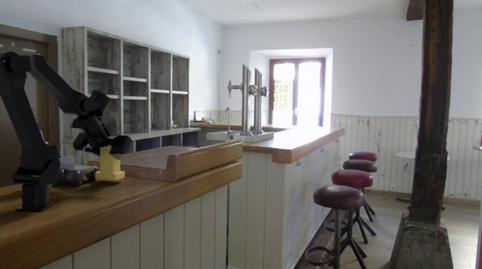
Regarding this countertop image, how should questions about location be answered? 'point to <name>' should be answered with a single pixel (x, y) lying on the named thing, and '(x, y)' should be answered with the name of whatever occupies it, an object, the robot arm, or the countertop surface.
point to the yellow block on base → (109, 166)
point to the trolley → (74, 172)
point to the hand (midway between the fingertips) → (112, 158)
